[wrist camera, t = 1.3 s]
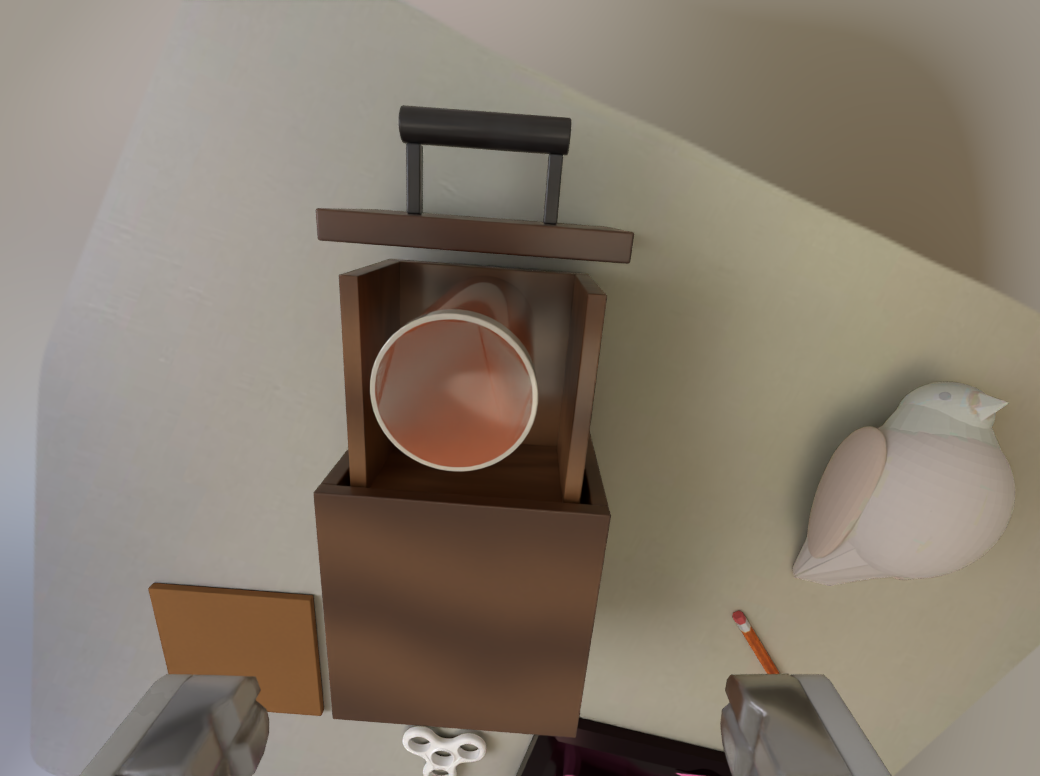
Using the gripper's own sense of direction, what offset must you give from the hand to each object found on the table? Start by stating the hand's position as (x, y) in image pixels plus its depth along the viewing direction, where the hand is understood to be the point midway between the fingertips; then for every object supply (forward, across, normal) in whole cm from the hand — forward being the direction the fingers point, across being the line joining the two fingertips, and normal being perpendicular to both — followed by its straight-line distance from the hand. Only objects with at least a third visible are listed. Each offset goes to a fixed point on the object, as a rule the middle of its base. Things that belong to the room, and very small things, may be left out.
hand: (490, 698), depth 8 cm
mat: (+22, +22, +24) cm, 40 cm away
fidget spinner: (+22, +8, +36) cm, 43 cm away
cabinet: (+22, +3, +12) cm, 26 cm away
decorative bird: (+22, -22, +9) cm, 33 cm away
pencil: (+22, -20, +28) cm, 41 cm away
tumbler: (+20, +2, -2) cm, 21 cm away
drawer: (+22, +2, -3) cm, 22 cm away
